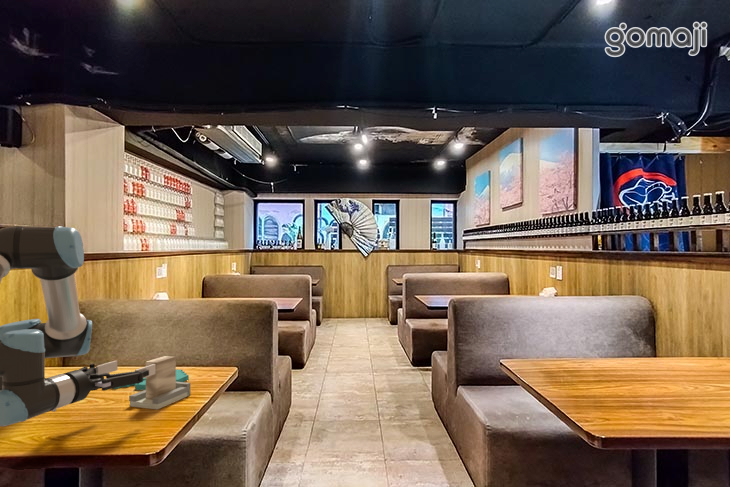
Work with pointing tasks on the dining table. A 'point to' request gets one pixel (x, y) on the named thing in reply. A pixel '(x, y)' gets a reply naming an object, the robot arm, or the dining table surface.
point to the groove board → (152, 406)
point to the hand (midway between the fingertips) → (135, 367)
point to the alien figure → (180, 377)
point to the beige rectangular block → (161, 377)
